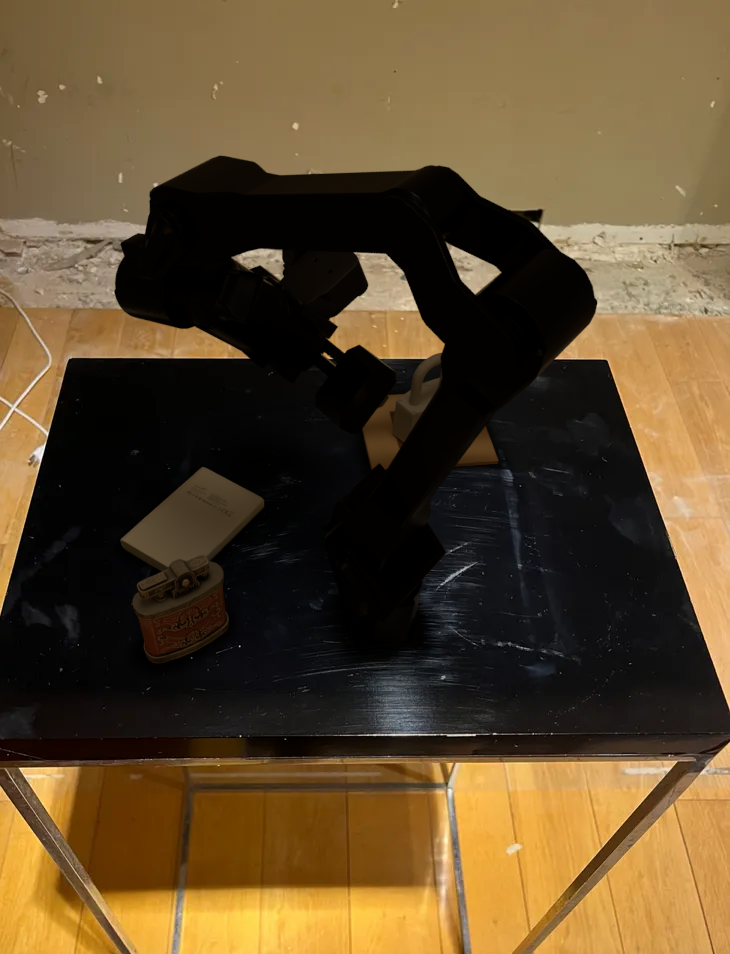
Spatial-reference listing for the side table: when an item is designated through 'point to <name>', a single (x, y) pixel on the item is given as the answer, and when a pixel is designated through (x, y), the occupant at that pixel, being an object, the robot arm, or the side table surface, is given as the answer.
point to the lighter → (181, 608)
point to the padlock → (415, 398)
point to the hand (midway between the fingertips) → (353, 375)
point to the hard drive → (193, 521)
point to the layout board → (386, 444)
